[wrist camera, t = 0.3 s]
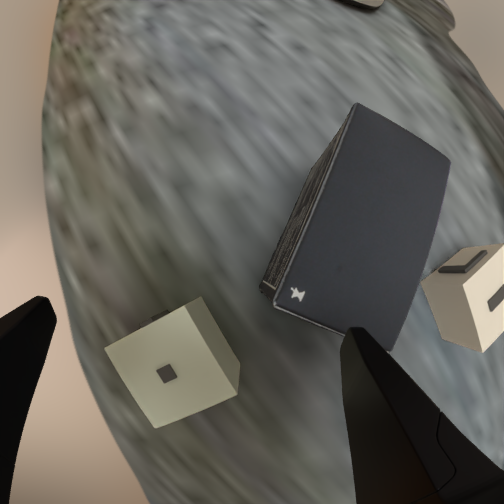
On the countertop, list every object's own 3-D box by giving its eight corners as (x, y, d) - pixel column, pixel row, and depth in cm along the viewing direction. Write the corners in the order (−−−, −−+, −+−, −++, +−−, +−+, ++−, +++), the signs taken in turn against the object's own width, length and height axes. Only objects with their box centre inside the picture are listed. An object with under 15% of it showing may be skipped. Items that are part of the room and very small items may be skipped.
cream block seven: (481, 302, 22) (525, 307, 16) (441, 338, 22) (484, 353, 16) (461, 245, 23) (506, 239, 16) (418, 279, 22) (463, 281, 16)
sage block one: (240, 363, 22) (237, 396, 16) (175, 393, 22) (154, 430, 15) (199, 292, 22) (180, 301, 16) (135, 326, 22) (100, 344, 16)
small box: (333, 323, 22) (394, 362, 12) (256, 290, 22) (262, 308, 12) (382, 200, 23) (458, 160, 12) (310, 165, 23) (351, 95, 12)
